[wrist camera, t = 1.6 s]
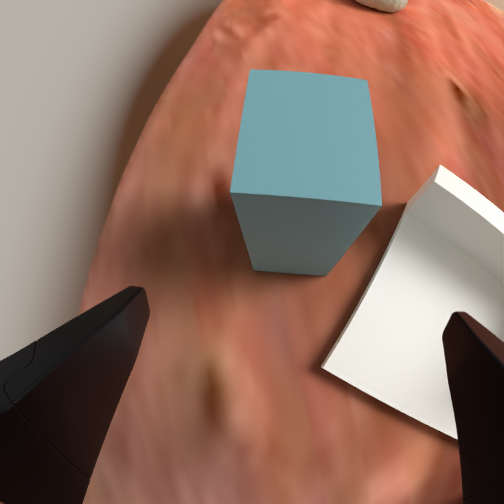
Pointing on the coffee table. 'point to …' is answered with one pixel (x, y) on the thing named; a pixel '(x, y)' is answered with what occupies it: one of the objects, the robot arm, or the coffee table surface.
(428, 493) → the coffee table surface
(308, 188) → the teal rectangular block
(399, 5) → the sea urchin shell
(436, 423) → the shelf
